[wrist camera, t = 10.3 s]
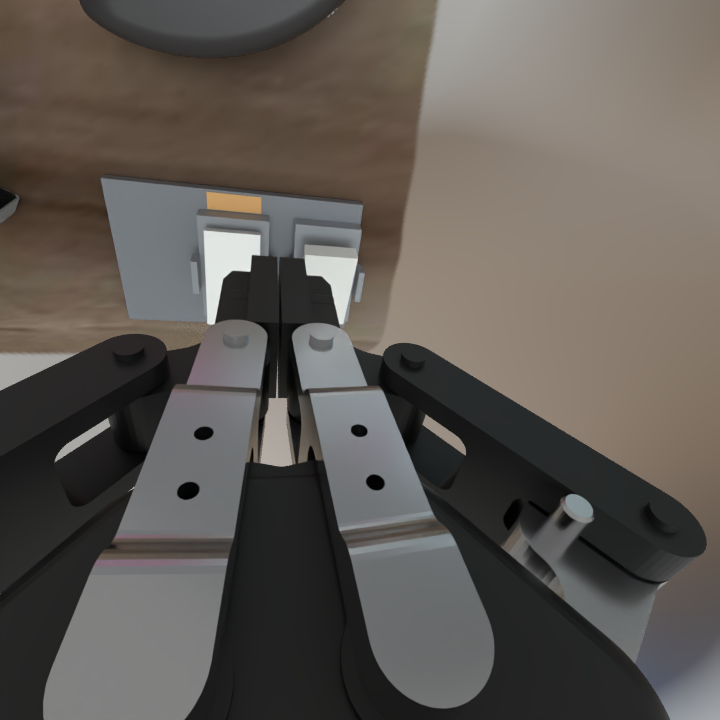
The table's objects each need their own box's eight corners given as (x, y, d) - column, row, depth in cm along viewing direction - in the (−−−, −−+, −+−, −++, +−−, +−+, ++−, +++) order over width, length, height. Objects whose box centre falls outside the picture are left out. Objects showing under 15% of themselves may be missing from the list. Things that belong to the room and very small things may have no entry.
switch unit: (132, 313, 42) (120, 338, 38) (104, 174, 34) (86, 190, 31) (346, 322, 46) (352, 345, 43) (365, 201, 39) (374, 218, 35)
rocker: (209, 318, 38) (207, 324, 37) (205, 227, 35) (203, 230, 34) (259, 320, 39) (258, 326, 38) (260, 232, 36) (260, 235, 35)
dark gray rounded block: (151, 74, 30) (114, 90, 23) (115, -9, 28) (59, -20, 20) (370, 16, 30) (401, 14, 23) (357, -73, 28) (388, -107, 20)
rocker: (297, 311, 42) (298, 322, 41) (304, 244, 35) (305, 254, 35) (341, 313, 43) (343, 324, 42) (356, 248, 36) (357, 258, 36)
